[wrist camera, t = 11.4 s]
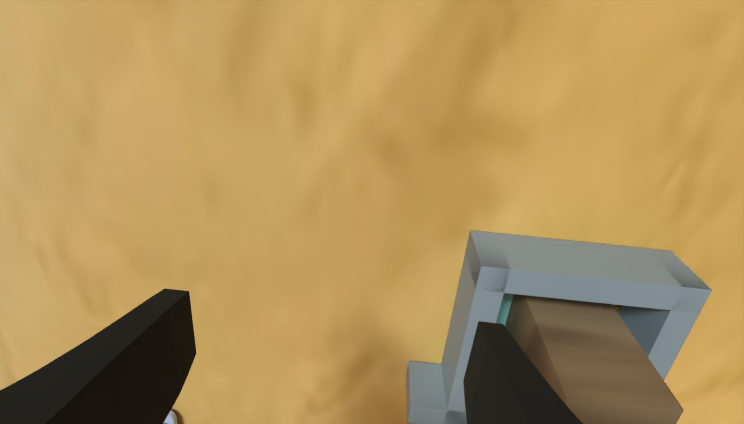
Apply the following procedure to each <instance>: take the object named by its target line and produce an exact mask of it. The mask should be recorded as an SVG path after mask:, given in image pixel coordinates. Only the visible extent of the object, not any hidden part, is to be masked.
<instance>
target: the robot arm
mask: <svg viewBox="0 0 744 424" xmlns="http://www.w3.org/2000/svg"><path fill="white" fill-rule="evenodd" d="M195 355H196V347H195V338H194V330H193V321H192V313H191V304H190V296H189V291H182V290H172V289H163V290H162V291H160V292H159V293H157V294H155V295H154V296H152V297H151V298H149V299H148V300H146V301H145V302H143V303H142V304H140V305H139V306H138V307H136V308H135V309H133V310H132V311H130V312H129V313H127V314H126V315H124V316H123V317H121V318H120V319H118V320H117V321H115V322H114V323H112V324H111V325H109V326H108V327H106V328H105V329H103V330H102V331H100V332H99V333H97V334H96V335H94V336H93V337H91V338H90V339H88V340H86V341H85V342H83V343H82V344H80V345H78V346H77V347H75V348H73V349H72V350H70V351H68V352H67V353H65V354H64V355H62V356H60V357H59V358H57V359H55V360H54V361H52V362H50V363H49V364H47V365H45V366H44V367H42V368H41V369H39V370H37V371H35V372H34V373H32V374H30V375H28V376H26V377H25V378H23V379H21V380H19V381H17V382H16V383H14V384H12V385H10V386H8V387H6V388H4V389H2V390H0V424H177V417H176V414H175V413H174V412H173V411H171V408H172V407H173V405H174V403H175V401H176V399H177V398H178V396H179V394H180V392H181V390H182V387H183V385H184V383H185V380H186V378H187V376H188V373H189V371H190V368H191V365H192V363H193V360H194V358H195ZM463 384H464V397H465V409H466V419H467V424H583V423H582V422H581V421H580V420H579V419H578V418H577V417H576V415H575V414H574V413H573V412H572V411H571V410H570V409H569V408H568V406H567V405H566V404H565V403H564V402H563V401H562V399H561V398H560V397H559V396H558V394H557V393H556V392H555V391H554V389H553V388H552V387H551V386H550V385H549V383H548V382H547V381H546V380H545V378H544V377H543V376H542V375H541V373H540V372H539V371H538V369H537V368H536V367H535V366H534V364H533V363H532V362H531V360H530V359H529V358H528V356H527V355H526V354H525V352H524V351H523V350H522V348H521V347H520V346H519V344H518V343H517V342H516V340H515V339H514V338H513V336H512V335H511V334H510V332H509V331H508V330H507V328H506V327H505V326H504V324H500V323H490V322H481V321H478V325H477V329H476V333H475V336H474V340H473V344H472V348H471V352H470V356H469V360H468V364H467V368H466V372H465V376H464V380H463Z"/></svg>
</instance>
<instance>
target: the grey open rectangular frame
mask: <svg viewBox="0 0 744 424" xmlns="http://www.w3.org/2000/svg"><path fill="white" fill-rule="evenodd" d="M711 291H712V289H710V288H709V287H708V286H707V285H706V284H705V283H704V282H703V281H702V280H701V279H700V278H699V277H698V276H697V275H696V274H695V273H694V272H693V271H692V270H691V269H690V268H689V267H688V266H686V265H685V264H684V263H683V262H682V261H681V260H680V259H679V258H678V257H677V256H676V255H675V254H674V253H673V252H672V251H666V250H656V249H646V248H636V247H627V246H617V245H607V244H597V243H588V242H578V241H568V240H558V239H549V238H539V237H529V236H520V235H510V234H500V233H490V232H481V231H471V230H470V234H469V239H468V244H467V248H466V253H465V258H464V262H463V267H462V271H461V276H460V281H459V285H458V290H457V294H456V299H455V304H454V308H453V313H452V318H451V322H450V327H449V331H448V336H447V341H446V345H445V350H444V355H443V359H442V364H432V363H423V362H413V361H409V364H408V369H407V375H406V388H407V423H413V424H467V419H466V409H465V397H464V384H463V380H464V376H465V372H466V368H467V364H468V360H469V356H470V352H471V348H472V344H473V340H474V336H475V333H476V329H477V325H478V321H481V322H490V323H496V320H497V317H498V313H499V309H500V306H501V302H502V299H503V295H504V293H509V294H518V295H528V296H538V297H547V298H557V299H567V300H576V301H586V302H596V303H605V304H615V305H621V307H620V310H619V312H618V314H619V316H620V317H621V319H622V320H623V321H624V323H625V324H626V326H627V327H628V329H629V330H630V332H631V333H632V335H633V336H634V338H635V339H636V341H637V342H638V344H639V345H640V346H641V348H642V349H643V351H644V352H645V354H646V355H647V357H648V358H649V360H650V361H651V363H652V364H653V366H654V367H655V369H656V370H657V371H658V373H659V374H660V376H661V377H662V379H663V380H664V379H665V377H666V375H667V374H668V372H669V370H670V368H671V366H672V364H673V362H674V360H675V359H676V357H677V355H678V353H679V351H680V349H681V347H682V345H683V344H684V342H685V340H686V338H687V336H688V334H689V332H690V330H691V328H692V327H693V325H694V323H695V321H696V319H697V317H698V315H699V313H700V312H701V310H702V308H703V306H704V304H705V302H706V300H707V298H708V297H709V295H710V293H711Z"/></svg>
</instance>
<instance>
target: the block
mask: <svg viewBox="0 0 744 424" xmlns="http://www.w3.org/2000/svg"><path fill="white" fill-rule="evenodd" d="M505 327H506V328H507V330H508V331H509V332H510V334H511V335H512V336H513V338H514V339H515V340H516V342H517V343H518V344H519V346H520V347H521V348H522V350H523V351H524V352H525V354H526V355H527V356H528V358H529V359H530V360H531V362H532V363H533V364H534V366H535V367H536V368H537V369H538V371H539V372H540V373H541V375H542V376H543V377H544V378H545V380H546V381H547V382H548V383H549V385H550V386H551V387H552V388H553V389H554V391H555V392H556V393H557V394H558V396H559V397H560V398H561V399H562V401H563V402H564V403H565V404H566V405H567V406H568V408H569V409H570V410H571V411H572V412H573V413H574V414H575V415H576V417H577V418H578V419H579V420H580V421H581V422H582V423H583V424H676V423H677V421H678V419H679V418H680V416H681V414H682V412H683V411H684V410H683V408H682V407H681V405H680V404H679V402H678V401H677V399H676V398H675V396H674V395H673V394H672V392H671V391H670V389H669V388H668V386H667V385H666V383H665V382H664V380H663V379H662V377H661V376H660V374H659V373H658V371H657V370H656V369H655V367H654V366H653V364H652V363H651V361H650V360H649V358H648V357H647V355H646V354H645V352H644V351H643V349H642V348H641V346H640V345H639V344H638V342H637V341H636V339H635V338H634V336H633V335H632V333H631V332H630V330H629V329H628V327H627V326H626V324H625V323H624V321H623V320H622V319H621V317H620V316H619V314H618V313H617V311H616V310H615V308H614V307H613V305H612V304H605V303H596V302H586V301H576V300H567V299H557V298H547V297H538V296H528V295H518V294H514V295H513V298H512V302H511V306H510V309H509V313H508V316H507V320H506V323H505Z"/></svg>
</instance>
